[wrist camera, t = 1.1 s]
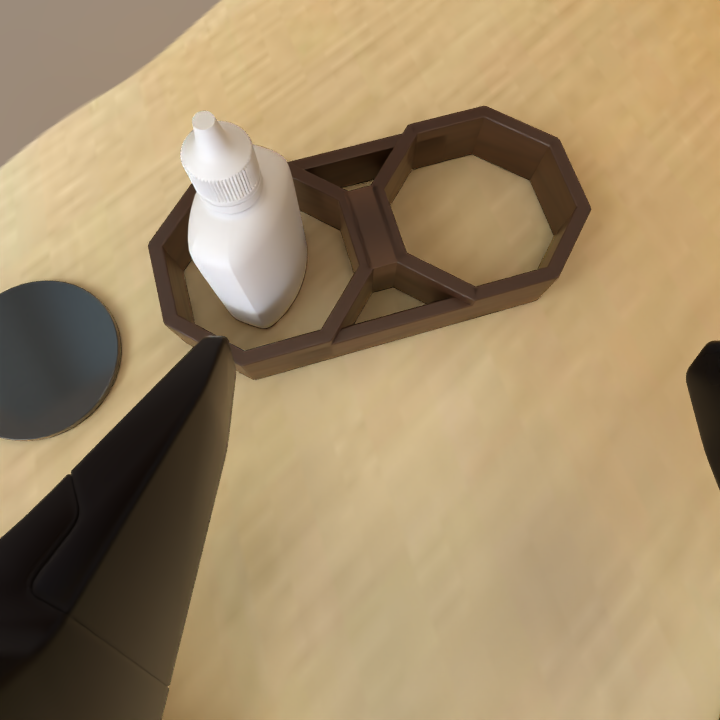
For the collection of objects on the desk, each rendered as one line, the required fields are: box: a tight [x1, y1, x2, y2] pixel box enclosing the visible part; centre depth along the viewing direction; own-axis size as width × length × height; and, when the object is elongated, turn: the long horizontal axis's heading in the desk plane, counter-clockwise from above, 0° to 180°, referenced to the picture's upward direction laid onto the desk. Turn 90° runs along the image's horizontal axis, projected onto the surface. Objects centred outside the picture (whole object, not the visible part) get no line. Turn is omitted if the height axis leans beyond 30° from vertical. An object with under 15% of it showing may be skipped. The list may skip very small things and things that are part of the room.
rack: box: [148, 106, 591, 380], centre depth 26 cm, size 10×21×3 cm, turn 106°
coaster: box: [0, 281, 121, 441], centre depth 25 cm, size 8×8×1 cm
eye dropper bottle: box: [180, 111, 307, 328], centre depth 21 cm, size 4×6×12 cm
